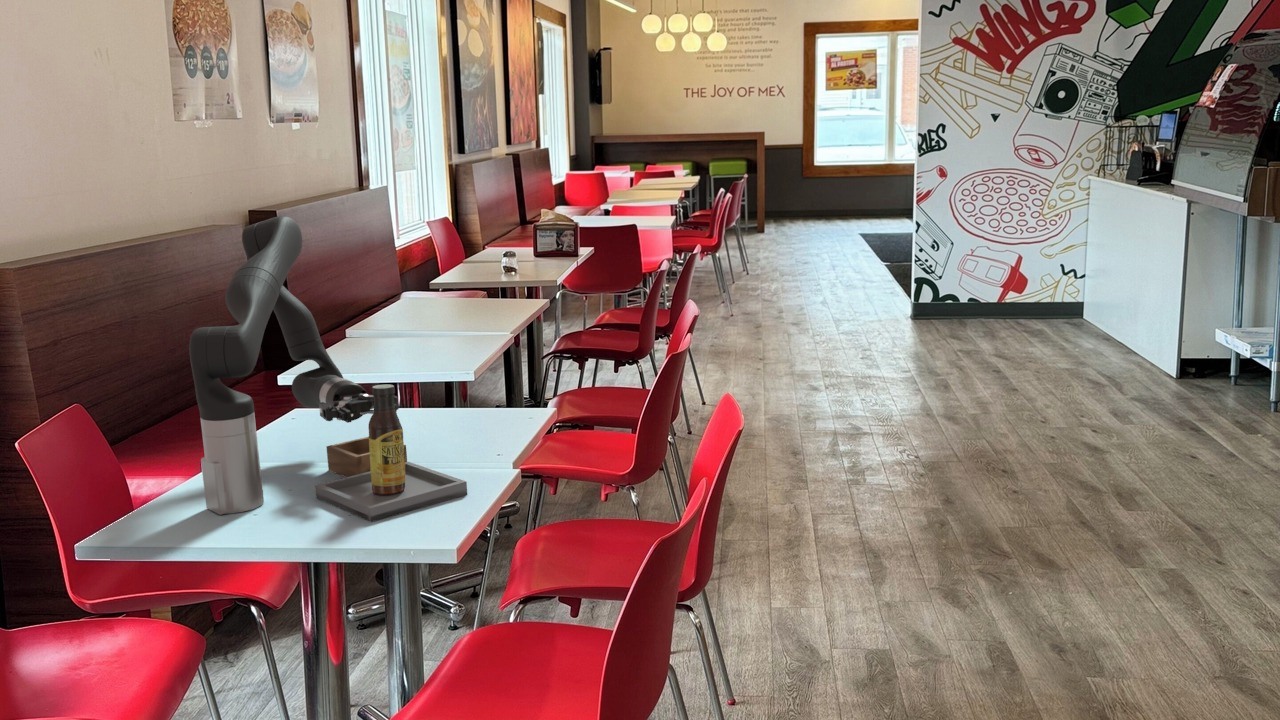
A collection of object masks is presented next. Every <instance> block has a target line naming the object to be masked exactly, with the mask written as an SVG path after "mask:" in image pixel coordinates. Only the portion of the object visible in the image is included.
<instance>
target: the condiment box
mask: <svg viewBox="0 0 1280 720" xmlns="http://www.w3.org/2000/svg"><path fill="white" fill-rule="evenodd" d="M325 447H326V456H327V466H328V467H327V468H328V471H330V472H333V473H334V474H337V475H341V476H343V477H344V478H346V477H350V476H354V475H358V474H362V473H366V472H369V471H370V453H369V436H364V437H362V438H361V437H360V438H357V439H353V440H347V441H343V442H339V443H334V444H330V445H327V446H325ZM404 460H405V462H408V455H407V445H406V444H404Z"/></svg>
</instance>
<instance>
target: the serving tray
mask: <svg viewBox="0 0 1280 720" xmlns="http://www.w3.org/2000/svg"><path fill="white" fill-rule="evenodd" d="M405 479H406V481H405V489H404V490H403V491H401V492H399V493H396V494H390V495H379V494H375V493H373V491H372V484H371V473H370V471H369V472H366V473H362V474H358V475H354V476H350V477H343V478H339V479H335V480H331V481H327V482H326V481H325V482H323V483H319V484H315V485H314V489H315V490H314V491H315V498H316V499H317V500H320V501H322V502H324V503H327V504H328V505H332V506H333V507H336V508H338V509H340V510H342V511H345V512H348V513H350V514H351V515H354V516H356V517H359V518H361V519H364V520H366V521H368V522H370V523H372V522H375V521H376V522H377V521H379V520H383V519H387V518H390V517H393V516H397V515H400V514H404V513H408V512H411V511H414V510H418V509H422V508H425V507H428V506H432V505H435V504H439V503H442V502H446V501H449V500H452V499H456V498H460V497H464V496H467V495H468V484H467V483H468V482H467V481H466V480H464V479H461V478H459V477H458V478H457V477H454V476H451V475H448V474H445V473H442V472H440V471H436V470H435V469H431V468H428V467H425V466H423V465H419V464H418V463H417V464H416V463H414V462H410V461H407V462H405Z"/></svg>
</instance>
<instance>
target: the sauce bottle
mask: <svg viewBox="0 0 1280 720" xmlns="http://www.w3.org/2000/svg"><path fill="white" fill-rule="evenodd" d="M371 393H372V394H371V395H373V397H374V408H373V410H374V413H373V414H371V417H370V418H369V421H368V437H369V453H370V473H371V484H372V491H373V493H375V494H379V495H390V494H396V493H399V492H401V491H403V490H404V489H405V481H406V479H405V460H404V445H405V444H404V443H405V442H404V431H403V430H404V429H403V426H402V424H401V422H400V419H399V418H400V417H399V416H398V413H397V412H396V410H395V405H394V396H395V393H396V389H395V385H393V384H387V383H386V384H377V385H372V387H371Z"/></svg>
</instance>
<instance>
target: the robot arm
mask: <svg viewBox="0 0 1280 720" xmlns="http://www.w3.org/2000/svg"><path fill="white" fill-rule="evenodd" d="M241 242H242V246H243V250H244V253H245V255H246V257H247V260H246V261H245V262H243V264H241V265H240V266H239V267H238V268H237V270H236V271H235V272H234V274H233V276H232V277H231V280H230V282H229V284H228V286H227V289H226V292H225V296H224V297H225V304H226V306H227V309H228V311H229V313H230V314H231V315H232V317H233V318H234V319H235V320H236V321H237V323H238V325H237V324H236V325H225V326H204V327H197V328H195V329H194V330H193V331H192V333H191V335H190V339H189V344H188V345H189V346H188V351H189V353H188V354H189V360H190V365H191V366H190V367H191V373H192V379H193V382H194V391H195V397H196V402H197V407H198V410H199V417H200V418H199V419H200V426H201V435H202V436H201V437H202V443H203V444H202V446H203V452H204V456H203V457H201V459H200V464H201V473H202V481H203V489H204V497H205V508H206V509H208V510H210V511H211V512H214V513H215V514H217V515H219V516H222V515H226V514H238V513H242V512H247V511H251V510H254V509H256V508H260V507H261V506H262V505H264V502H265V501H264V500H265V499H264V489H263V481H262V470H261V462H260V454H259V445H258V435H257V426H256V417H255V416H256V415H255V406H254V400H253V398H252V397H251V396H250V395H248V394H247V393H244V392H242V391H241V392H240V391H237V390H234V389H232V388H230V387H228V386H226V385H225V384H224V383H223V382H222V381H221V379H230V378H242V377H247V376H248V375H250V374H251V373H253V371H254V369H255V367H256V365H257V362H258V358H259V355H260V350H261V347H262V346H261V345H262V342H263V338H264V334H265V330H266V328H267V325H268V322H269V319H270V317H271V316H272V315H271V314H272V312H273V313H274V314H275V316H276V319H277V321H278V324H279V326H280V329H281V332H282V336H283V338H284V341H285V344H286V347H287V350H288V354H289V356H290V358H291V359H292V360H293V361H296V362H302V361H313V362H315V363H316V364H317V365H318V366H319V367H317V368H313V369H310V370H307V371H304V372H301V373H299V374H297V375H296V376H295V377H294V378H293V381H292V383H291V391H292V394H293V397H294V398H295V399H296V401H298V403H300V404H301V405H302V406H304V407H307V408H316V409H317V408H319V416H320V417H321V418H322V419H323V420H325V421H326V422H332V421H334V419H336V420H337V421H343V422H346V423H352V421H353V422H354V421H356V420H358V419H360V418H362V417H363V416H364V415H367V414H368V415H369V414H370V415H373V413H374V397H373V394H369V393H368V392H367V390H366V389H365V388H364V387H363V386H361V384H358V383H356V382H354V381H352V380H349V379H347V378H344V376H343V374H342V372H341V371H340V370H339V368H338V367H337V365H336V364H335V363H334V361H333V360H332V358H331V357H330V355H329V353H328V352H327V350H326V348H325V346H324V344H323V341H322V338H321V336H320V333H319V332H320V331H319V328H318V327H317V323H316V320H315V318H314V316H313V314H312V312H311V311H310V310H309V309H308V307H307V306H306V305H305V304H304V303H303V302H302V301H300V300H299V298H297V297H296V296H295V295H293V294H292V292H290V291H289V290H288V289H287V287H285V285H284V284H285V281H286V279H287V276H288V274H289V272H290V270H291V268H292V267H293V266H294V264H295V263H296V262H297V260H298V258H299V257H300V254H301V252H302V248H303V235H302V231H301V228H300V227H299V224H298V223H297V222H296V220H294V219H293V218H292V217H289V216H284V215H280V216H274V217H271V218H268V219H265V220H263V221H259V222H257V223H253V224H250V225H248V226H245V227H244V229H243V230H242V233H241ZM398 400H399V397H398V396H397V395H394V405H395V410H396V413H397V411H398V410H399V401H398Z"/></svg>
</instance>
